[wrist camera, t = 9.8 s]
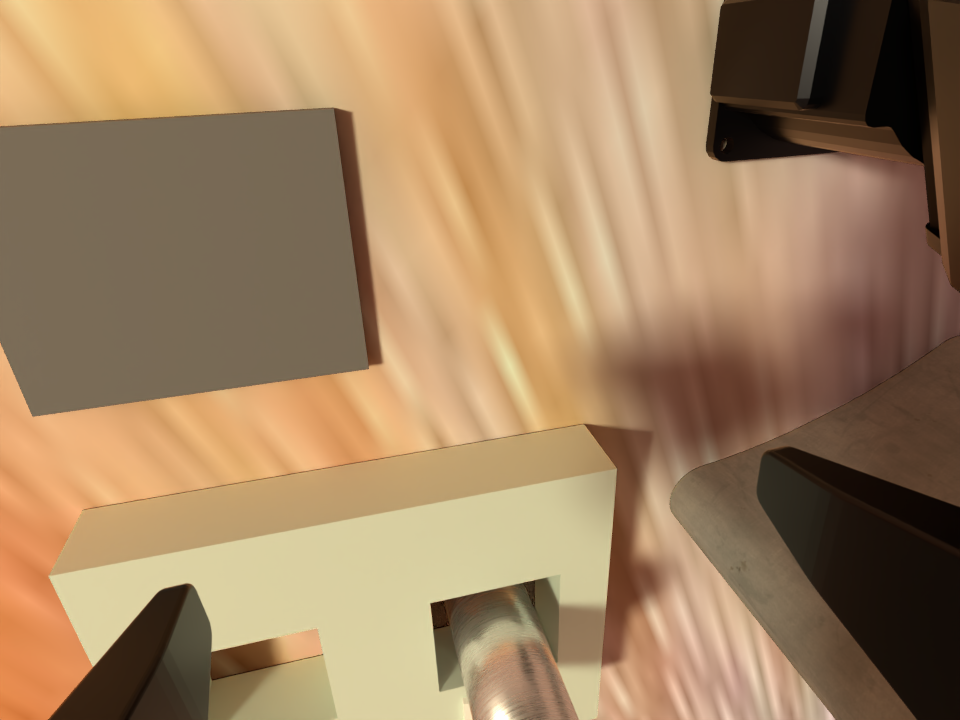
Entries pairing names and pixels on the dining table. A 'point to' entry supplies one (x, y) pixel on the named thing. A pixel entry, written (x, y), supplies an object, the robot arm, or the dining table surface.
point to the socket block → (364, 571)
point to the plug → (506, 657)
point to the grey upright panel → (765, 557)
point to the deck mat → (174, 257)
